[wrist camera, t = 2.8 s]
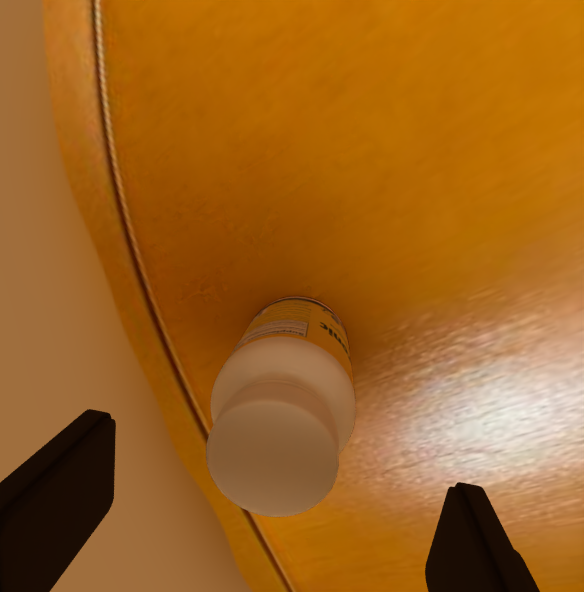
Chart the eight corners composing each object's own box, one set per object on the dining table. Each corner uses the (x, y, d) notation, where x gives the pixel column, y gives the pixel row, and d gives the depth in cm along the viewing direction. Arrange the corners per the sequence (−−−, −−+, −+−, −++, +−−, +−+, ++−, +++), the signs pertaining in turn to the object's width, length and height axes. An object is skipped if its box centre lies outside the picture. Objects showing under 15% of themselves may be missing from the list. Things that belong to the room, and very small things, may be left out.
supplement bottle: (355, 382, 21) (373, 534, 11) (259, 392, 22) (202, 543, 12) (341, 286, 20) (348, 369, 10) (239, 300, 20) (159, 390, 11)
